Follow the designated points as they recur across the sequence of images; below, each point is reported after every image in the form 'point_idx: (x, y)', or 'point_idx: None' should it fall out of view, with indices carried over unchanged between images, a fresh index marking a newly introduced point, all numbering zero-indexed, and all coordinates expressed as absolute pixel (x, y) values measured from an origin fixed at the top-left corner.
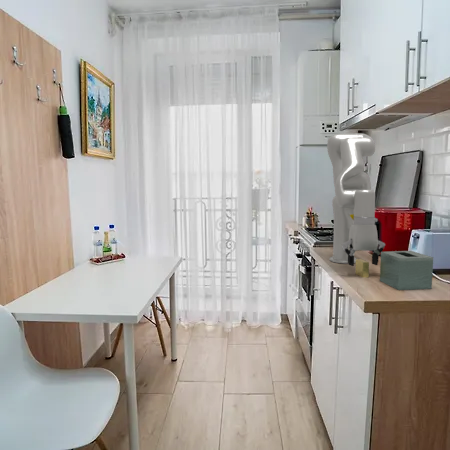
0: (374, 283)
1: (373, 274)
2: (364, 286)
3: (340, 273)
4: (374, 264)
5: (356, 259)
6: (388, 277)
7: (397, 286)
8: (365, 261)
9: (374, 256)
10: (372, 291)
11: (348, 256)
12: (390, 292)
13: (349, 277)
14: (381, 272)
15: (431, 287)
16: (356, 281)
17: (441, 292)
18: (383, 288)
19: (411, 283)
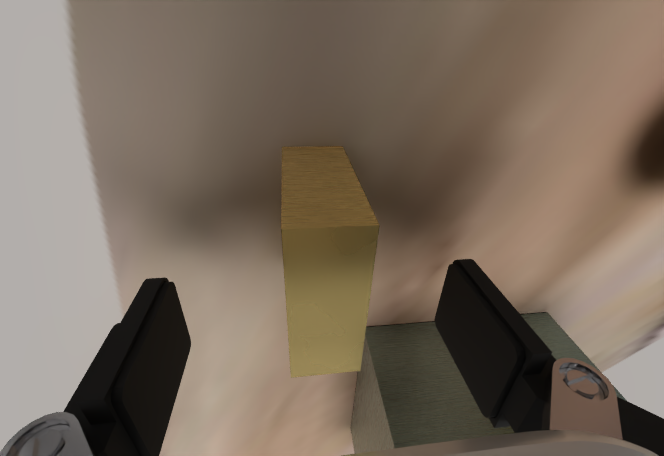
0: None
1: (430, 190)
2: (220, 401)
3: (114, 116)
4: (438, 305)
5: (284, 242)
6: (364, 424)
7: (353, 439)
8: (345, 342)
9: (485, 381)
10: (229, 443)
11: (76, 413)
12: (300, 446)
13: (180, 257)
14: (375, 391)
15: None
16: (205, 338)
17: None
18: (300, 416)
19: None
